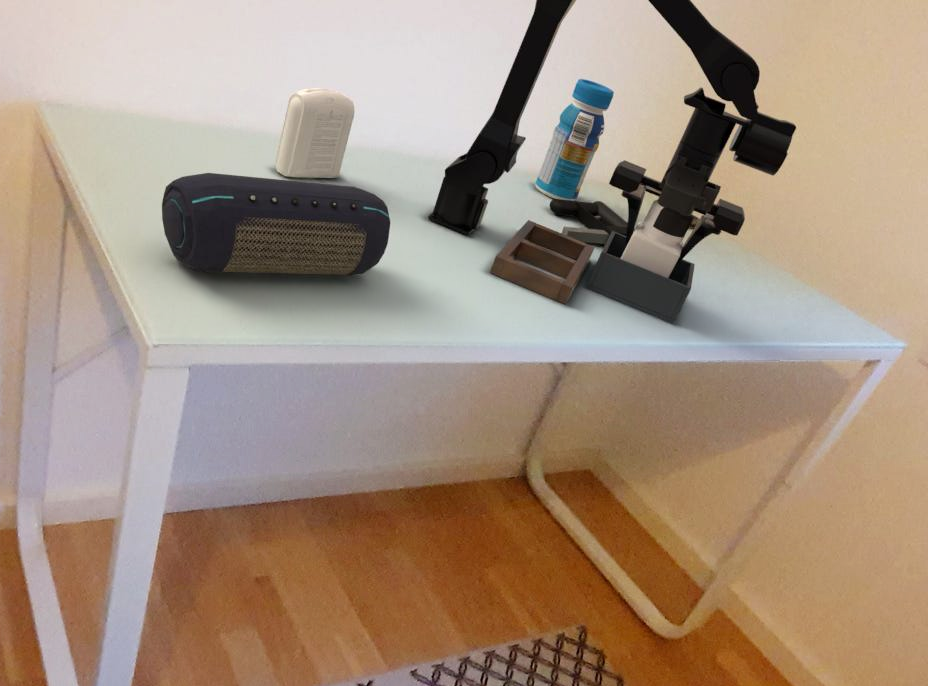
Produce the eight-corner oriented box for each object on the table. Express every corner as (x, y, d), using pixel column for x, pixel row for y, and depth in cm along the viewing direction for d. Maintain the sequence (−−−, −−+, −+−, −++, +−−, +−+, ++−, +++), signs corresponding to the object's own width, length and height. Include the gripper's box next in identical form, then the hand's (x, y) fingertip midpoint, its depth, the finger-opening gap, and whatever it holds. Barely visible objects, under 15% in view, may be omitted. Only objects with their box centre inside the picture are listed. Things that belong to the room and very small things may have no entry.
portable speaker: (177, 289, 84) (192, 194, 79) (147, 243, 91) (159, 153, 86) (390, 291, 99) (414, 212, 94) (352, 252, 106) (372, 175, 101)
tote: (585, 287, 120) (601, 252, 118) (597, 263, 131) (612, 230, 128) (673, 324, 119) (691, 288, 116) (678, 297, 129) (694, 263, 127)
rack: (489, 272, 114) (495, 256, 113) (522, 234, 132) (528, 219, 130) (565, 304, 113) (572, 288, 111) (588, 261, 130) (595, 247, 129)
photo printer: (325, 168, 129) (344, 86, 123) (342, 180, 127) (363, 97, 121) (269, 167, 122) (286, 81, 116) (286, 180, 120) (305, 92, 114)
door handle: (588, 242, 130) (670, 249, 137) (531, 191, 145) (608, 199, 152) (581, 262, 132) (662, 268, 139) (525, 209, 146) (602, 217, 153)
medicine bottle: (661, 283, 127) (700, 210, 121) (656, 298, 121) (698, 222, 115) (617, 263, 127) (654, 189, 121) (611, 277, 121) (649, 200, 115)
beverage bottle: (524, 183, 156) (564, 74, 146) (552, 184, 162) (592, 78, 152) (557, 203, 152) (600, 92, 142) (585, 203, 158) (628, 96, 148)
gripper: (629, 130, 108) (582, 242, 116) (768, 186, 106) (711, 296, 114) (637, 119, 118) (593, 223, 125) (765, 170, 116) (713, 272, 123)
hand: (651, 253), depth 122 cm, fingers closed on medicine bottle, 7 cm apart
